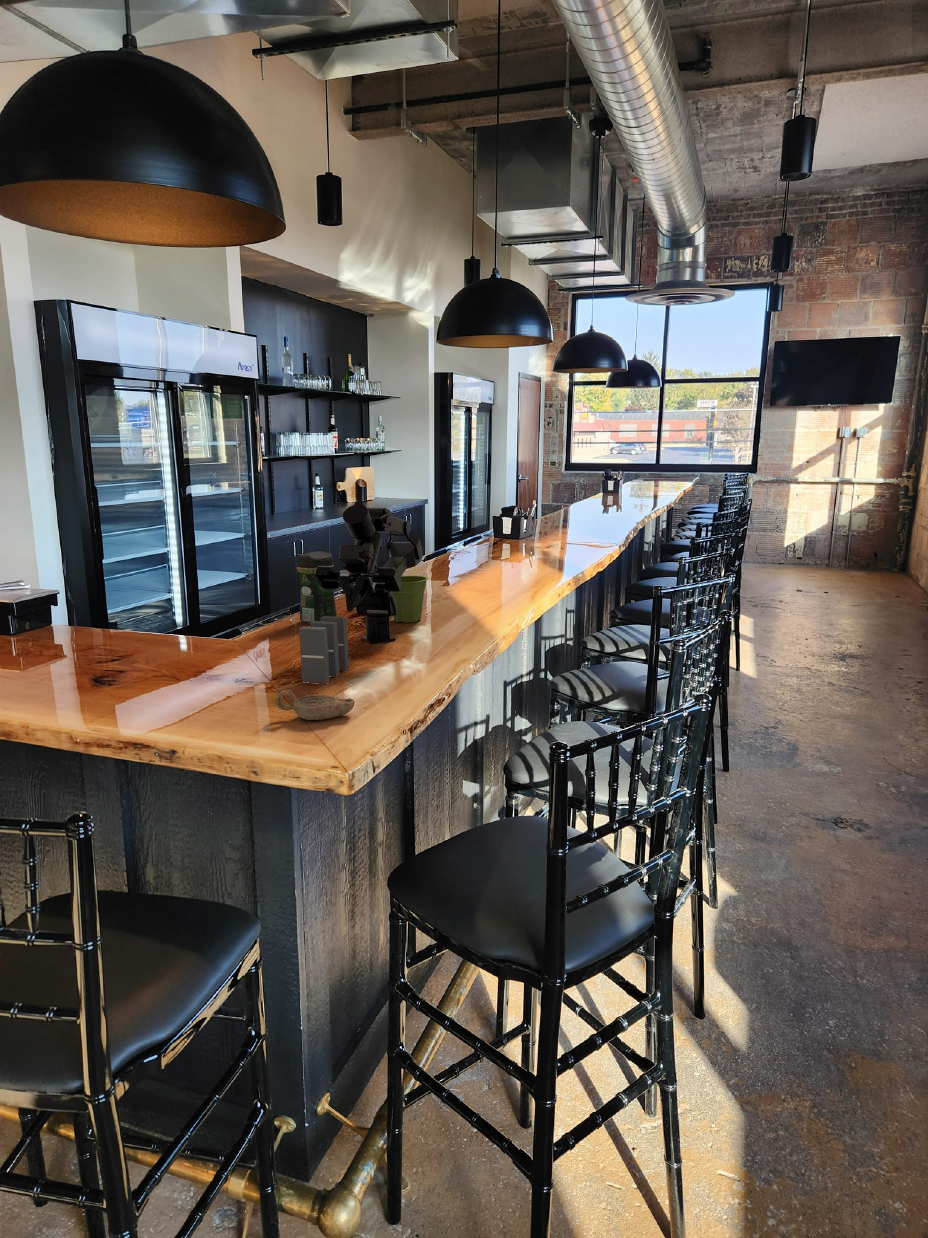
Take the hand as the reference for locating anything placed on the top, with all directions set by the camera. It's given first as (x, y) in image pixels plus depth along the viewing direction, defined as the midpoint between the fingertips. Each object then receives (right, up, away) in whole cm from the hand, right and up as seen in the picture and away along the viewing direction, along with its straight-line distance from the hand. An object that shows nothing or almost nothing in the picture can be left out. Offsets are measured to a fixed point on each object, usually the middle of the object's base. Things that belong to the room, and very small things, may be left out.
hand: (348, 610), depth 169 cm
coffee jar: (-14, -3, +41) cm, 44 cm away
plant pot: (+10, -2, +40) cm, 42 cm away
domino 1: (-4, -14, -15) cm, 21 cm away
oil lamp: (0, -19, -35) cm, 40 cm away
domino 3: (-2, -12, -6) cm, 14 cm away
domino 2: (-3, -13, -11) cm, 17 cm away
